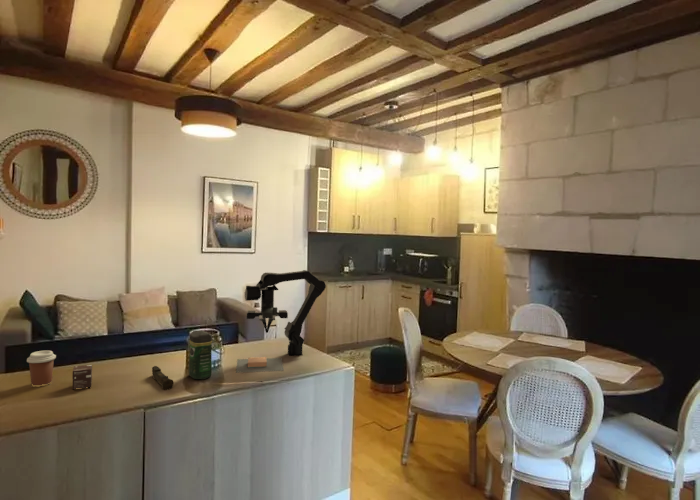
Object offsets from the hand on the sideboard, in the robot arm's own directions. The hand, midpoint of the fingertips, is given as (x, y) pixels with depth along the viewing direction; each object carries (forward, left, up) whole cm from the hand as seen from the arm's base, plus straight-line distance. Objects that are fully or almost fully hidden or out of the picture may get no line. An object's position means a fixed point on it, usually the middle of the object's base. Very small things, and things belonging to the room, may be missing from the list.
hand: (266, 332), depth 206 cm
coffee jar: (+27, +22, -12) cm, 37 cm away
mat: (+3, +12, -12) cm, 17 cm away
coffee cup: (+84, +24, -12) cm, 88 cm away
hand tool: (+42, +27, -12) cm, 51 cm away
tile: (0, +12, -10) cm, 16 cm away
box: (+69, +29, -12) cm, 75 cm away
